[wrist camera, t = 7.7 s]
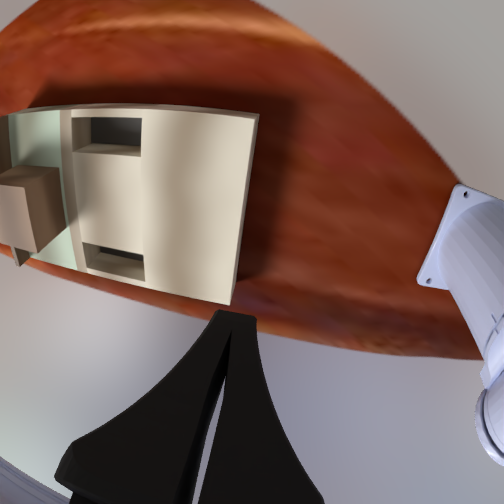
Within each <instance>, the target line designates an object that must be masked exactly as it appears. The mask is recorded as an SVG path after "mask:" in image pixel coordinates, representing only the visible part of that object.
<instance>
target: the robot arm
mask: <svg viewBox="0 0 504 504" xmlns="http://www.w3.org/2000/svg"><path fill="white" fill-rule="evenodd" d="M466 191H467V194H466V195H465V196H464V193H465V192H466ZM429 278H430V280H428V281H427V279H429ZM417 282H418V283H419V284H420V285H423V286H429V287H434V288H440V289H446V290H450V292H451V294H452V296H453V298H454V299H455V301H456V303H457V305H458V307H459V309H460V311H461V313H462V315H463V316H464V318H465V320H466V322H467V324H468V326H469V329H470V331H471V333H472V335H473V337H474V339H475V341H476V343H477V345H478V348H479V350H480V352H481V354H482V357H483V359H484V361H485V364H484V367H483V369H482V370H481V372H480V376H481V379H482V382H483V384H484V387H485V389H484V390H483V391H482V393H481V394H480V396H479V398H478V401H477V404H476V409H475V423H476V429H477V433H478V436H479V439H480V441H481V443H482V445H483V447H484V449H485V450H486V452H487V453H488V455H489V456H490V457H491V458H492V459H493V460H494V461H496V462H497V463H498V464H500V465H502V466H504V201H503V200H500V199H498V198H496V197H493V196H491V195H488V194H486V193H483V192H481V191H478V190H476V189H473V188H471V187H468V186H466V185H463V184H457V185H456V186H455V187H454V189H453V191H452V194H451V197H450V200H449V203H448V205H447V208H446V211H445V213H444V216H443V218H442V221H441V223H440V226H439V228H438V231H437V233H436V236H435V238H434V240H433V243H432V245H431V247H430V250H429V252H428V254H427V256H426V259H425V261H424V263H423V265H422V267H421V269H420V271H419V274H418V276H417ZM256 323H257V319H256V318H255V317H254V316H251V315H245V314H240V313H235V312H230V311H224V310H217V311H215V313H214V315H213V317H212V319H211V320H210V322H209V323H208V325H207V327H206V328H205V329H204V331H203V332H202V334H201V335H200V337H199V338H198V339H197V340H196V342H195V343H194V344H193V345H192V347H191V348H190V350H189V351H188V352H187V353H186V354H185V355H184V356H183V358H182V359H181V360H180V361H179V362H178V363H177V364H176V365H175V366H174V368H173V369H172V370H171V371H170V372H169V373H168V374H167V375H166V376H165V377H164V378H163V379H162V380H161V381H160V382H159V383H158V384H156V385H155V386H154V387H153V388H152V389H151V390H150V391H149V392H148V393H146V394H145V395H144V396H143V397H141V398H140V399H139V400H138V401H137V402H135V403H134V404H133V405H131V406H130V407H129V408H128V409H126V410H125V411H123V412H122V413H120V414H119V415H117V416H116V417H114V418H113V419H111V420H110V421H108V422H107V423H105V424H104V425H102V426H100V427H99V428H97V429H95V430H93V431H92V432H90V433H88V434H86V435H84V436H82V437H80V438H79V439H77V440H75V441H73V442H72V443H71V445H70V446H69V447H68V449H67V450H66V452H65V454H64V455H63V457H62V459H61V461H60V463H59V466H58V468H57V470H56V473H55V475H54V478H55V480H56V481H57V482H59V483H60V484H61V485H63V486H65V487H66V488H68V489H69V490H71V491H72V492H73V494H72V496H71V499H69V498H67V497H65V496H63V495H61V494H60V493H57V492H56V491H54V490H52V489H50V488H49V487H47V486H45V485H43V484H42V483H40V482H38V481H37V480H35V479H33V478H32V477H30V476H28V475H27V474H25V473H24V472H22V471H21V470H19V469H18V468H16V467H14V466H13V465H12V464H10V463H9V462H7V461H6V460H4V459H3V458H2V457H0V504H192V501H193V496H194V491H195V487H196V482H197V477H198V472H199V468H200V463H201V458H202V454H203V449H204V444H205V440H206V435H207V432H208V428H209V425H210V422H211V419H212V416H213V413H214V410H215V407H216V404H217V401H218V398H219V395H220V392H221V388H222V385H223V382H224V379H225V386H224V396H223V402H222V406H221V411H220V415H219V419H218V423H217V427H216V432H215V436H214V440H213V445H212V449H211V453H210V457H209V461H208V465H207V469H206V473H205V477H204V481H203V485H202V489H201V493H200V497H199V501H198V504H325V503H324V499H323V497H322V495H321V494H320V492H319V491H318V490H317V488H316V487H315V485H314V484H313V482H312V481H311V479H310V478H309V476H308V475H307V473H306V472H305V470H304V468H303V466H302V465H301V463H300V461H299V460H298V458H297V456H296V454H295V452H294V450H293V448H292V446H291V444H290V442H289V440H288V438H287V436H286V434H285V432H284V430H283V427H282V425H281V423H280V420H279V418H278V416H277V413H276V410H275V408H274V405H273V402H272V399H271V396H270V393H269V390H268V387H267V383H266V380H265V376H264V372H263V368H262V363H261V359H260V354H259V348H258V341H257V328H256ZM225 376H226V377H225Z"/></svg>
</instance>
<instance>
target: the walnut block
mask: <svg viewBox="0 0 504 504" xmlns="http://www.w3.org/2000/svg"><path fill="white" fill-rule="evenodd" d="M66 228H67V227H66V220H65V214H64V207H63V199H62V191H61V182H60V171H59V167H45V166H28V165H17V166H15V167H13V168H11V169H9V170H7V171H5V172H4V173H2V174H0V243H2V244H6V245H9V246H12V247H16V248H19V249H23V250H26V251H30V252H33V253H37V254H38V253H39V252H40V251H41V250H42V249H43V248H45V247H46V246H47V245H48V244H49V243H50V242H51V241H52V240H53V239H54V238H56V237H57V236H58V235H59V234H60V233H61V232H62V231H64V230H65V229H66Z"/></svg>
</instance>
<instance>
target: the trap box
mask: <svg viewBox="0 0 504 504" xmlns="http://www.w3.org/2000/svg"><path fill="white" fill-rule="evenodd" d="M259 115H260V114H255V113H249V112H241V111H233V110H225V109H216V108H206V107H195V106H181V105H165V104H136V103H104V104H76V105H60V106H47V107H37V108H28V109H24V110H20V111H17V112H14V113H11V114H8V115H5V116H2V117H0V174H2V173H4V172H5V171H7V170H9V169H11V168H13V167H15V166H17V165H28V166H45V167H59V171H60V182H61V191H62V199H63V207H64V214H65V220H66V227H67V228H66V229H65V230H64V231H62V232H61V233H60V234H59V235H58V236H57V237H56V238H54V239H53V240H52V241H51V242H50V243H49V244H48V245H47V246H46V247H45V248H43V249H42V250H41V251H40V252H39V253H38V254H37V253H33V252H30V251H26V250H23V249H19V248H16V247H12V246H11V250H12V253H13V257H14V260H15V263H16V265H17V266H19V267H20V266H21V265H22V264H23V263H24V262H25V261H26V260H28V259H29V258H30V257H32V258H35V259H38V260H42V261H45V262H49V263H52V264H56V265H60V266H63V267H67V268H70V269H74V270H78V271H82V272H85V273H89V274H93V275H97V276H101V277H105V278H109V279H113V280H117V281H121V282H125V283H129V284H133V285H138V286H142V287H146V288H150V289H155V290H159V291H164V292H168V293H173V294H177V295H182V296H187V297H191V298H196V299H201V300H206V301H211V302H216V303H221V304H226V305H230V301H231V298H232V294H233V290H234V287H235V283H236V275H237V268H238V261H239V253H240V246H241V239H242V232H243V225H244V217H245V210H246V203H247V196H248V189H249V182H250V175H251V169H252V162H253V155H254V148H255V141H256V135H257V128H258V121H259Z"/></svg>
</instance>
